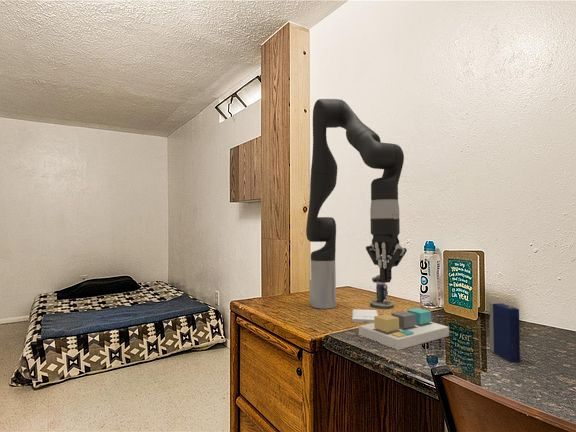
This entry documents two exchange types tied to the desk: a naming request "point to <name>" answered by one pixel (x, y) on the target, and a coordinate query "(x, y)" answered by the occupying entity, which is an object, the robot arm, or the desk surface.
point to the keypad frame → (405, 334)
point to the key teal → (421, 315)
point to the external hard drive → (364, 315)
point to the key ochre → (386, 322)
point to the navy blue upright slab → (504, 331)
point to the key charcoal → (405, 318)
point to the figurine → (381, 295)
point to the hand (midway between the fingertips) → (385, 282)
